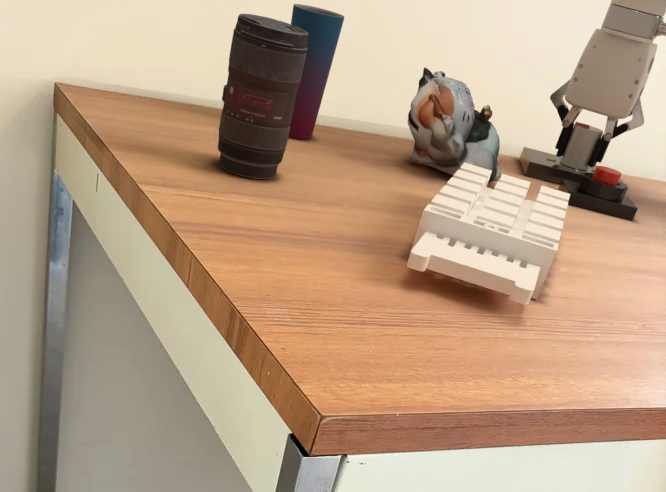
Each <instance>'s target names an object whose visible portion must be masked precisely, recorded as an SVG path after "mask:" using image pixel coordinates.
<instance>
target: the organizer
mask: <svg viewBox="0 0 666 492" xmlns="http://www.w3.org/2000/svg"><path fill="white" fill-rule="evenodd" d="M491 173H492V171H491V170H488V169H485V168H481V167H478V166H475V165H471V164H468V163H465V162H464V164H463V165H462V166H461V167H460V169H458V171H457V172H456V173H455V174H454V176H453V175H452V177H450V179H449V180H448V181H447V182H446V184H445V185H444V186H442V188H441V189H440V190H439V192H438V193H437V194H436V195H435V196H434V197H433V198H432V199H431V201H430V203H428V204H427V205H426V207H425V208H424V209H423V210H422V211H423V212H422V214H421V217H420V221H419V224H418V227H417V230H416V234H415V237H414V240H413V243H412V246H411V250H410V253H409V255H408V259H407V263H406V267H407V268H409V269H412V270H415V271H418V272H425V271H426V270H430V271H433V272H436V273H439V274H442V275H445V276H449V277H451V278H454V279H457V280H461V281H464V282H467V283H469V284H473V285H476V286H479V287H482V288H486V289H489V290H492V291H495V292H498V293H501V294H505V295H508V296H509V297H508V299H509V300H510V301H511V302H514V303H517V304H520V305H525V306H527V305H529V304H530V301H531V299H533V300H536V301H537V300H538V298H539V295H540V293H541V290H542V288H543V286H544V283H545V281H546V279H547V277H548V275H549V271H550V270H551V267H552V264H553V262H554V260H555V257H556V255H557V252H558V248H559V246H560V245H559V244H560V241H561V236H562V231H563V227H564V223H565V219H566V214H567V210H568V206H569V204H568V201H569V198H570V194H569V193H565V192H562V191H559V190H558V189H555V188H552V187H549V186H545V185H541V186H540V188H539V191H538V194H537V196H536V199H535V200H531V199H528V198H526V196H527V194H528V192H529V188H530V186H531V183H532V182H531V181H529V180H526V179H521V178H518V177H515V176H511V175H508V174H504V173H501V174H502V175H500V178H499V179H498V180H497V182H496V183H495V186H494V188H490V187H488V185H489V184H488V181H489V179H490V176H491ZM487 184H488V185H487Z"/></svg>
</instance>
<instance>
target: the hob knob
mask: <svg viewBox="0 0 666 492" xmlns="http://www.w3.org/2000/svg"><path fill="white" fill-rule="evenodd" d="M603 134H604V130H602V129H600V128H598V127H596V126H593V125H590V124H587V123H583V122H579V121H575V122H574V127H573V130H572V132H571V135H570V138H569V140H568V143H567V145H566V148H565V150H564V153H563V155H562V156H561V157H562V158H561V160H560V162H561V163H562V164H564V165H566V166H569V167H572V168H575V169H579V170H588V168H589V165H588V164H589V162H590V159H591V157H592V154H593V152H594V150H595V147H596V145H597V142H598V140H599V139H600V138H602V135H603Z"/></svg>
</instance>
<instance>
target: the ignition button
mask: <svg viewBox="0 0 666 492" xmlns="http://www.w3.org/2000/svg"><path fill="white" fill-rule="evenodd" d="M622 175H623V173H622V172H620V171H619V170H616V169H614V168H611V167H608V166H602V165H597V167H596V169H595V172H594V174H593V176H592V178H593V179H595V180H597V181H600V182H603V183H607V184H610V185H617V184H618V182H619V180H620V178H622Z"/></svg>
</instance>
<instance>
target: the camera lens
mask: <svg viewBox="0 0 666 492" xmlns="http://www.w3.org/2000/svg"><path fill="white" fill-rule="evenodd" d="M234 27H235V28H233V33H232V39H231V43H230V51H229V57H228V68H227V70H228V71H227V72H228V74H227V81H226V84H224V85H223V88H222V89H223V90H222V96H221V101H222V102H223V106H222V110H221V114H220V119H219V126H218V143H217V150H218V151H219V153H220V155H219V163H218V164H219V166H220V168H222V170H225V171H226V172H229V173H231V174H234V175H237V176H240V177H244V178H250V179H255V180H268V179H269V180H271V179H274V178H275V177H276V175H277V171H278V167H279V165H280V164H281V163H282V162H283V159H284V155H285V151H286V149H287V145H288V141H289V138H290V137H289V132H290V124H291V119H292V114H293V109H294V103H295V98H296V93H297V90H298V88H299V85H300V81H301V78H302V73H303V68H304V63H305V58H306V54H307V49H308V48H307V40H308V32H306V31H305V30H303V29H301V28H299V27H296V26H293V25H291V23H288V22H285V21H281V20H278V19H275V18H271V17H267V16H264V15H263V16H262V15H258V14H252V13H239V14H238V16H237V21H236V24H235V26H234Z"/></svg>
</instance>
